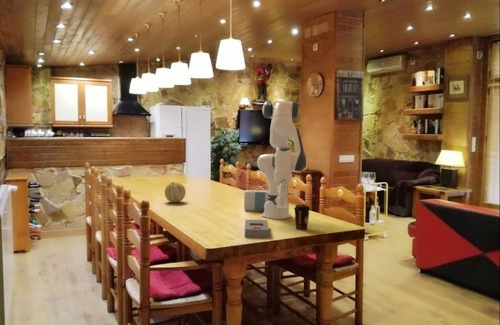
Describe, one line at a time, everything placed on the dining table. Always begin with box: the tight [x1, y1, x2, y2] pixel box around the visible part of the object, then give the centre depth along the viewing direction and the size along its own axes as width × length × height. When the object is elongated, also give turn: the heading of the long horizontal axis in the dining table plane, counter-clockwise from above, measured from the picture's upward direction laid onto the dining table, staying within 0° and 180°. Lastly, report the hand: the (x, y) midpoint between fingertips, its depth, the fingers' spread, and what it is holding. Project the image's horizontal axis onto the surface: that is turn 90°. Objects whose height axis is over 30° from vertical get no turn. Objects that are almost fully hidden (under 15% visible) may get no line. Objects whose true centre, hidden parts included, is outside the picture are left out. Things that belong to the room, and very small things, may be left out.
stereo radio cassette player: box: [243, 183, 268, 212], centre depth 274 cm, size 21×8×20 cm, turn 89°
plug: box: [277, 197, 288, 211], centre depth 214 cm, size 4×5×7 cm
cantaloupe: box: [164, 181, 186, 203], centre depth 297 cm, size 15×15×15 cm
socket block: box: [244, 219, 270, 239], centre depth 217 cm, size 22×12×5 cm, turn 0°
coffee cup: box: [293, 204, 311, 231], centre depth 225 cm, size 9×8×13 cm
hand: (282, 204), depth 214 cm, fingers closed on plug, 3 cm apart
